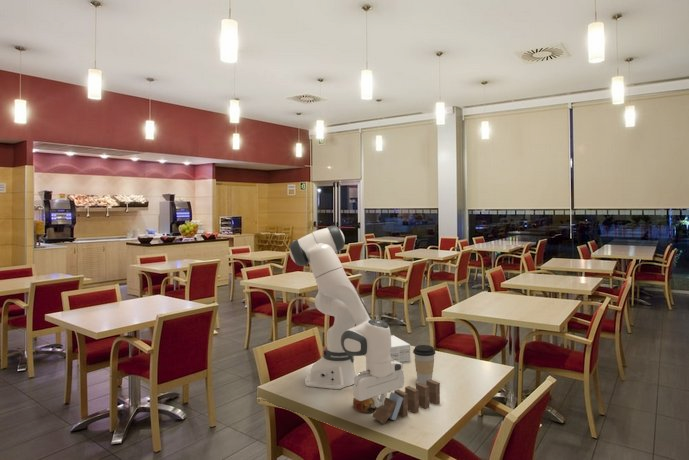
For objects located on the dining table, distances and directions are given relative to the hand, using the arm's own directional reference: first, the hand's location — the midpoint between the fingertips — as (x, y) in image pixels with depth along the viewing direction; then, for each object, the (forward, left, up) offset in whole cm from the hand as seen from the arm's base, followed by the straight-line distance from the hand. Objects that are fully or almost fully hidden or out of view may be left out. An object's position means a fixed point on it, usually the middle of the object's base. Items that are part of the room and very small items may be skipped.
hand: (379, 406), depth 156 cm
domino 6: (+20, +17, -6) cm, 27 cm away
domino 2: (+3, +3, -5) cm, 7 cm away
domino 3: (+8, +6, -6) cm, 11 cm away
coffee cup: (+19, +36, -6) cm, 41 cm away
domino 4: (+12, +10, -6) cm, 16 cm away
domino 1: (0, -1, -5) cm, 5 cm away
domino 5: (+16, +13, -6) cm, 22 cm away
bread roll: (-5, +11, -6) cm, 14 cm away
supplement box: (+5, +65, -6) cm, 66 cm away
